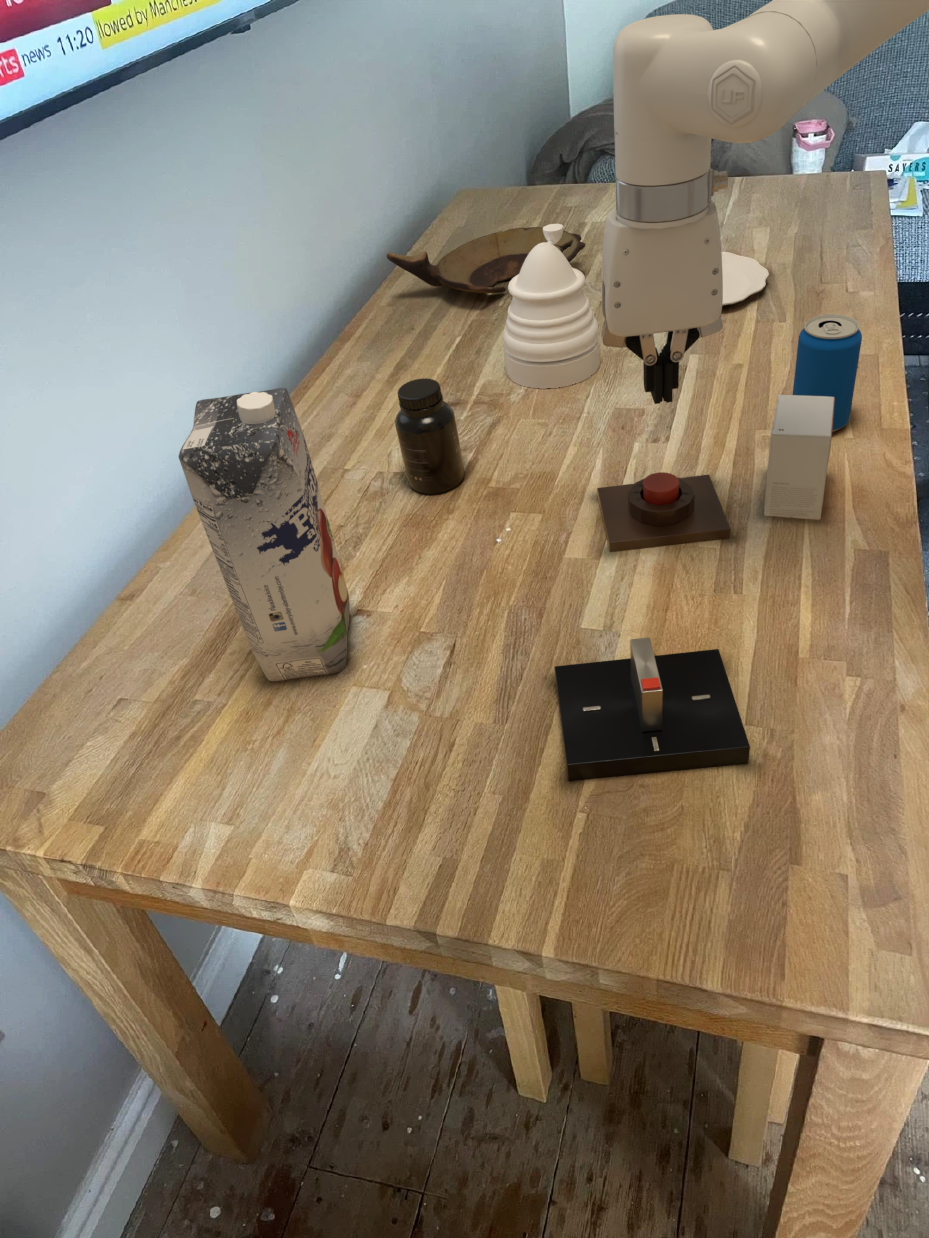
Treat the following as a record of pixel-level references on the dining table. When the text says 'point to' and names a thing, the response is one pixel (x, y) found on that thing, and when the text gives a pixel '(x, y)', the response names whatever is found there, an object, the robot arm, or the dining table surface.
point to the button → (661, 488)
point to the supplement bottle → (428, 438)
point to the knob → (646, 684)
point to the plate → (741, 277)
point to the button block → (662, 516)
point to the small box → (799, 456)
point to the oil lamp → (484, 259)
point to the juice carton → (269, 531)
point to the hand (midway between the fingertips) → (660, 396)
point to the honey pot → (550, 321)
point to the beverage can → (829, 362)
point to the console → (610, 726)
